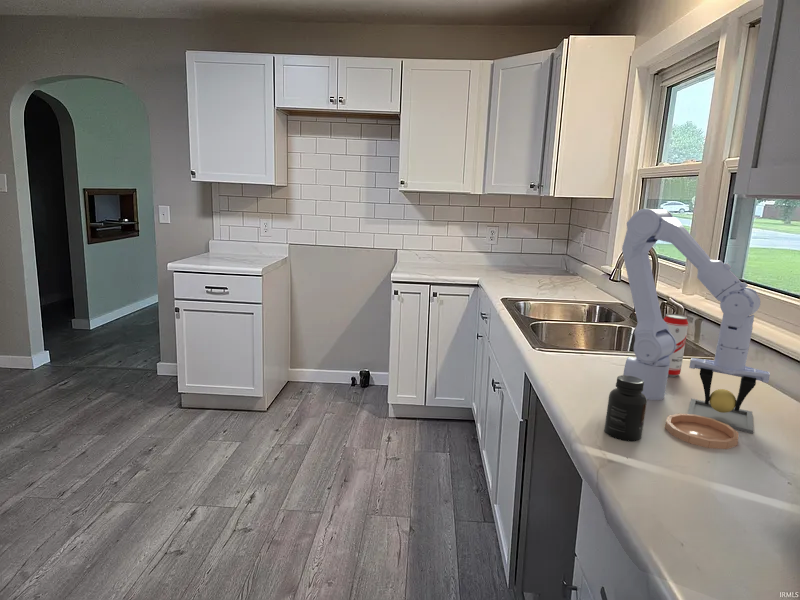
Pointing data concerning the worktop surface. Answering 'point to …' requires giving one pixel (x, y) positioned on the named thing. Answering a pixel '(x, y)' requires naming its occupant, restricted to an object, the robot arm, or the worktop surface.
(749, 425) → the tray
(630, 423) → the supplement bottle
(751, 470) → the worktop surface
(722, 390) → the ball
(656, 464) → the worktop surface
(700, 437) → the bowl
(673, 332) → the beer can
